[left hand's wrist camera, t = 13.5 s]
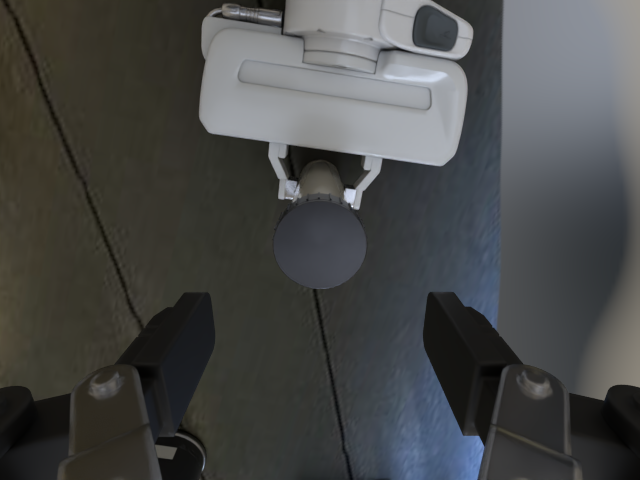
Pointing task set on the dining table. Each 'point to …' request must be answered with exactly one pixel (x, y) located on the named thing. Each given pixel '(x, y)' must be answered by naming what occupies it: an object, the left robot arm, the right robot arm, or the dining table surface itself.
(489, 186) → the dining table surface
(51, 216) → the dining table surface
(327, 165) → the white cylindrical bottle
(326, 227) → the lid
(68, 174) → the dining table surface
